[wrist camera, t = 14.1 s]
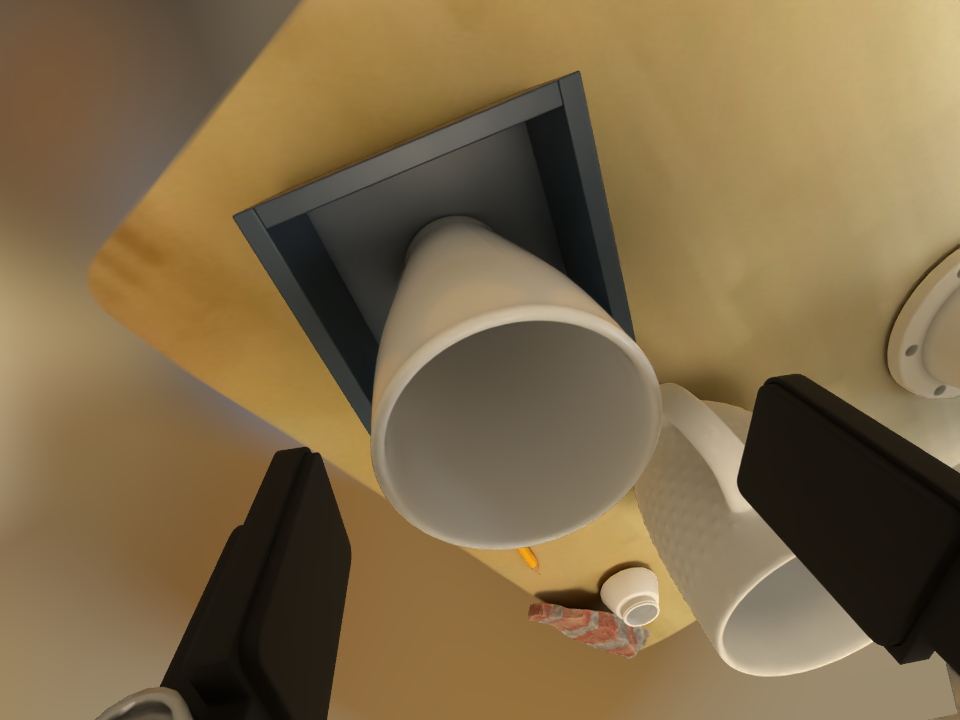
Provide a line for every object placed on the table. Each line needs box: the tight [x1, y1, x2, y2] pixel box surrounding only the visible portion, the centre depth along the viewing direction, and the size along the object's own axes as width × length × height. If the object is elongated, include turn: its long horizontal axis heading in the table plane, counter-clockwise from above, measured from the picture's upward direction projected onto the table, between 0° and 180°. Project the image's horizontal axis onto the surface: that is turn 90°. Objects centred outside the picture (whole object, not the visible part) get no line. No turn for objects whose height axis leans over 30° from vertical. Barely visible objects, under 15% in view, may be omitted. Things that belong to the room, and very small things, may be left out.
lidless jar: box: [600, 567, 659, 627], centre depth 37 cm, size 5×3×5 cm
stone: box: [528, 603, 650, 658], centre depth 39 cm, size 12×2×5 cm
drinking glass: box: [370, 216, 662, 550], centre depth 16 cm, size 7×7×15 cm
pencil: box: [517, 547, 541, 575], centre depth 33 cm, size 1×13×1 cm, turn 27°
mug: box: [634, 383, 874, 676], centre depth 25 cm, size 15×11×13 cm
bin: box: [233, 71, 636, 436], centre depth 21 cm, size 13×13×7 cm
